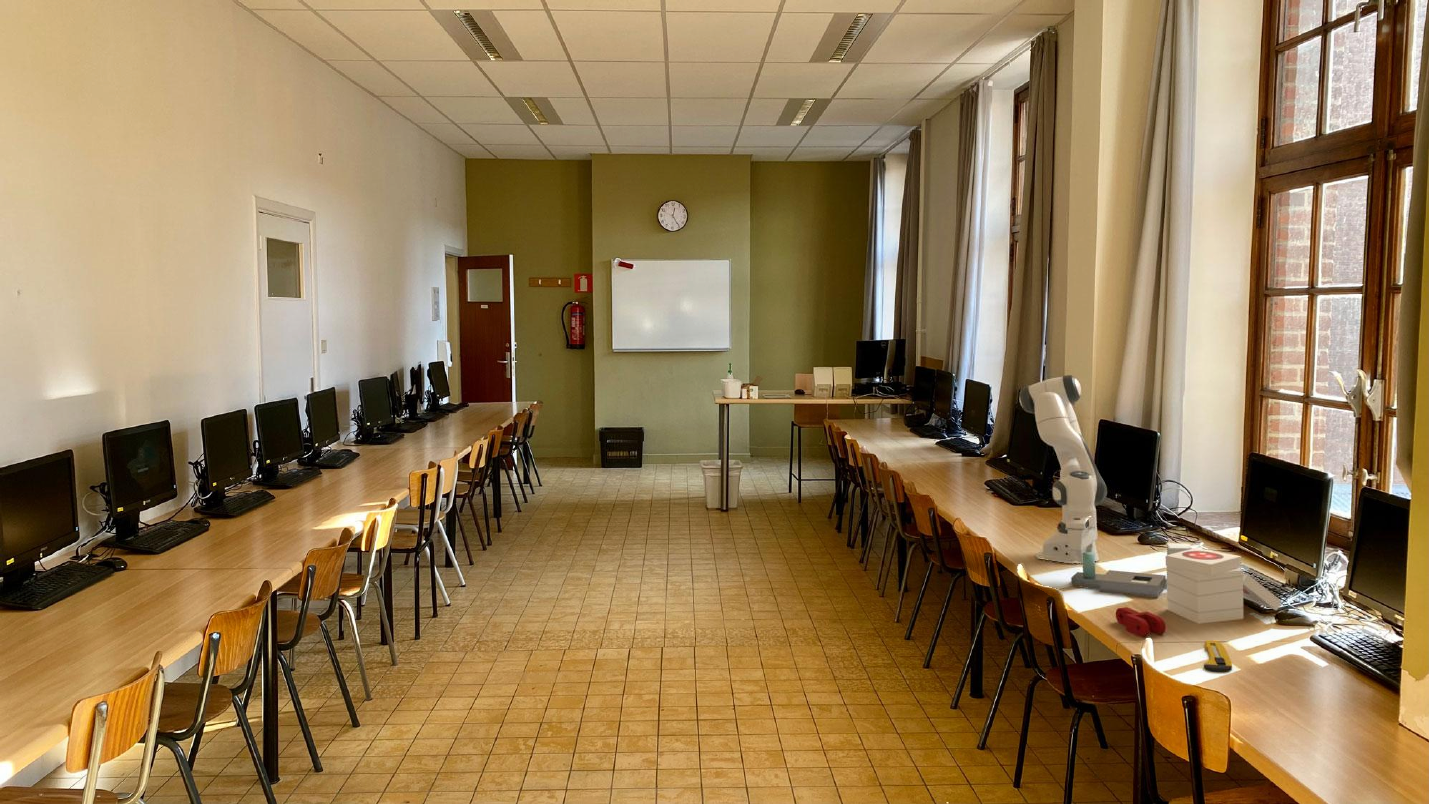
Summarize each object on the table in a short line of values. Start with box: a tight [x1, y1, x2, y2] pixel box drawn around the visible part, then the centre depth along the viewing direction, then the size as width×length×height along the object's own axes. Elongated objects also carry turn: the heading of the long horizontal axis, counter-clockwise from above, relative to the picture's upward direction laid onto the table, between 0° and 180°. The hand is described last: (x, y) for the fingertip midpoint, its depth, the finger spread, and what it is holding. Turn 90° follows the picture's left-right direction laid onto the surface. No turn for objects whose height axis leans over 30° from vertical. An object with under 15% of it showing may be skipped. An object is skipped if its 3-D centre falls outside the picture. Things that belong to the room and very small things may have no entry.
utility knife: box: [1203, 640, 1233, 673], centre depth 254 cm, size 7×22×2 cm, turn 159°
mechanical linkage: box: [1115, 606, 1167, 638], centre depth 280 cm, size 16×7×5 cm, turn 13°
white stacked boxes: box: [1165, 547, 1283, 625], centre depth 290 cm, size 19×30×18 cm, turn 98°
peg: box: [1082, 552, 1096, 578], centre depth 327 cm, size 4×4×8 cm
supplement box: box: [1166, 542, 1194, 555], centre depth 325 cm, size 7×7×13 cm
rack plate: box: [1070, 569, 1167, 599], centre depth 322 cm, size 28×14×4 cm, turn 55°
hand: (1084, 558), depth 327 cm, fingers open, 8 cm apart
